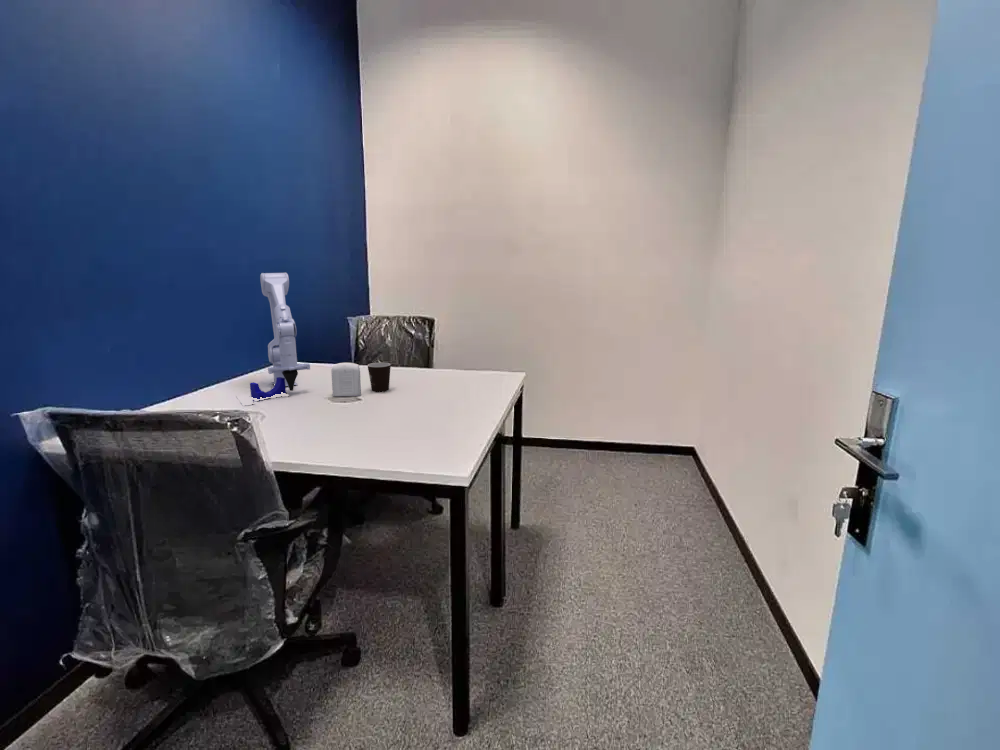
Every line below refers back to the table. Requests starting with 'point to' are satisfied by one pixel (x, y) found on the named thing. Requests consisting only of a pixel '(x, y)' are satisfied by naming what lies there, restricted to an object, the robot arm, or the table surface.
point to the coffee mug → (379, 376)
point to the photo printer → (346, 379)
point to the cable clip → (276, 389)
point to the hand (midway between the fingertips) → (291, 390)
